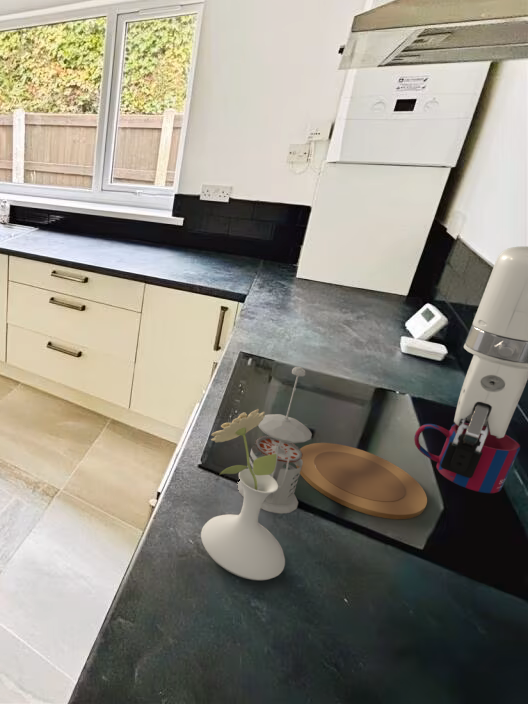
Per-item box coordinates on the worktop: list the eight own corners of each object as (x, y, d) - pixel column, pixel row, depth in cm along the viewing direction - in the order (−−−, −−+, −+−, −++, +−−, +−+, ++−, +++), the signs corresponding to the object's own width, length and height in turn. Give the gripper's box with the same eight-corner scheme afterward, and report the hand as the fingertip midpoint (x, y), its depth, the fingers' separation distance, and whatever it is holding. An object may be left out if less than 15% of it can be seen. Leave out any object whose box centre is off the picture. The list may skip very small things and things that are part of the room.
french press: (296, 485, 84) (331, 362, 75) (301, 528, 74) (343, 393, 65) (237, 468, 88) (264, 350, 79) (235, 508, 78) (266, 377, 69)
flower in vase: (258, 526, 74) (293, 390, 66) (299, 589, 64) (347, 436, 55) (178, 525, 74) (203, 389, 65) (206, 587, 63) (240, 435, 55)
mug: (499, 501, 60) (519, 457, 58) (403, 464, 67) (417, 425, 64) (502, 478, 64) (521, 437, 62) (411, 446, 71) (425, 408, 69)
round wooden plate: (435, 484, 85) (437, 479, 84) (412, 538, 72) (414, 533, 72) (315, 435, 99) (316, 431, 99) (278, 474, 86) (279, 469, 86)
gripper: (549, 375, 50) (490, 504, 57) (551, 336, 61) (501, 448, 67) (458, 354, 56) (413, 474, 62) (474, 321, 66) (435, 426, 73)
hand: (459, 459), depth 65 cm, fingers closed on mug, 6 cm apart
